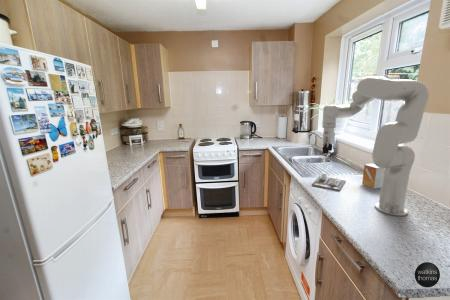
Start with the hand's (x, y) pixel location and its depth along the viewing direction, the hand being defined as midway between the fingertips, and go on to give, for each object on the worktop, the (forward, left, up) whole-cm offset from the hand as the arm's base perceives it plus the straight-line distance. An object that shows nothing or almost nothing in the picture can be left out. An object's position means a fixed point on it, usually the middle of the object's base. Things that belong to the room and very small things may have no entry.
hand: (327, 151), depth 139 cm
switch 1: (-3, 0, -19) cm, 19 cm away
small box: (+6, -25, -20) cm, 33 cm away
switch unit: (-5, -3, -20) cm, 21 cm away
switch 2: (-9, -7, -19) cm, 22 cm away
